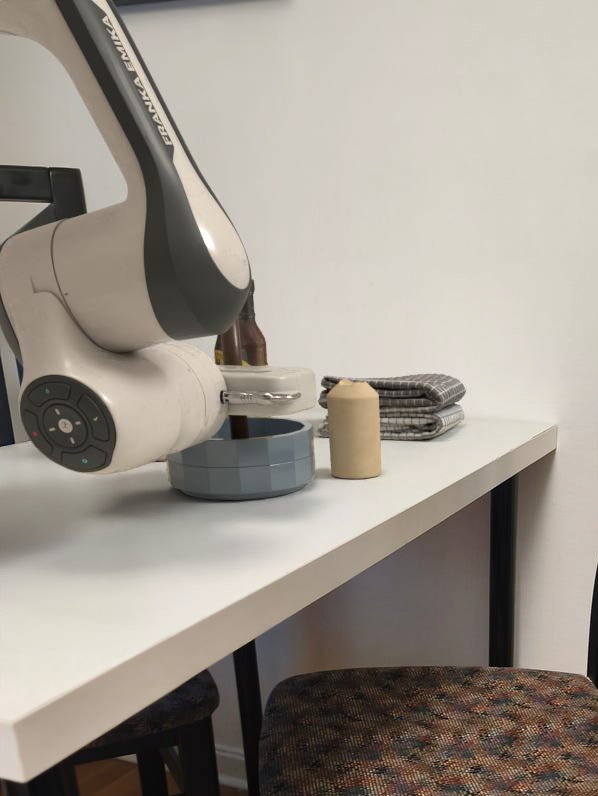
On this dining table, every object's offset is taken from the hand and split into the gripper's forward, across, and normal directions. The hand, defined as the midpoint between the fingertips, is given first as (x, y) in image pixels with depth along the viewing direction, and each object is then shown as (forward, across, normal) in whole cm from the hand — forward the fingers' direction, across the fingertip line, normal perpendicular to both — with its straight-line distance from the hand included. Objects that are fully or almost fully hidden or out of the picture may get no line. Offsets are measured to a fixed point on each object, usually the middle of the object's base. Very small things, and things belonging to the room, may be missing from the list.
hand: (237, 378), depth 89 cm
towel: (+36, -7, +11) cm, 38 cm away
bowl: (-1, 0, +11) cm, 11 cm away
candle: (+7, -10, +11) cm, 16 cm away
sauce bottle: (+18, +7, +11) cm, 22 cm away
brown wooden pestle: (-1, 0, +10) cm, 10 cm away
